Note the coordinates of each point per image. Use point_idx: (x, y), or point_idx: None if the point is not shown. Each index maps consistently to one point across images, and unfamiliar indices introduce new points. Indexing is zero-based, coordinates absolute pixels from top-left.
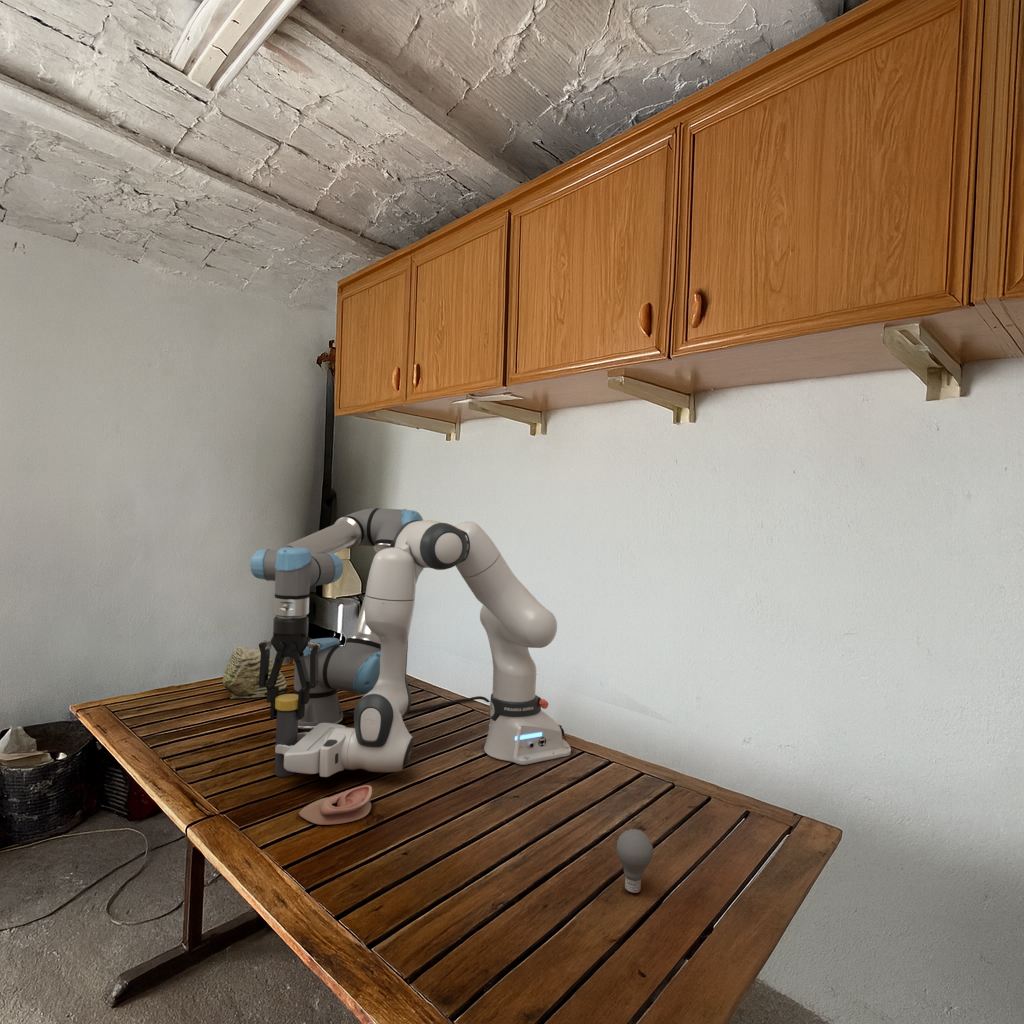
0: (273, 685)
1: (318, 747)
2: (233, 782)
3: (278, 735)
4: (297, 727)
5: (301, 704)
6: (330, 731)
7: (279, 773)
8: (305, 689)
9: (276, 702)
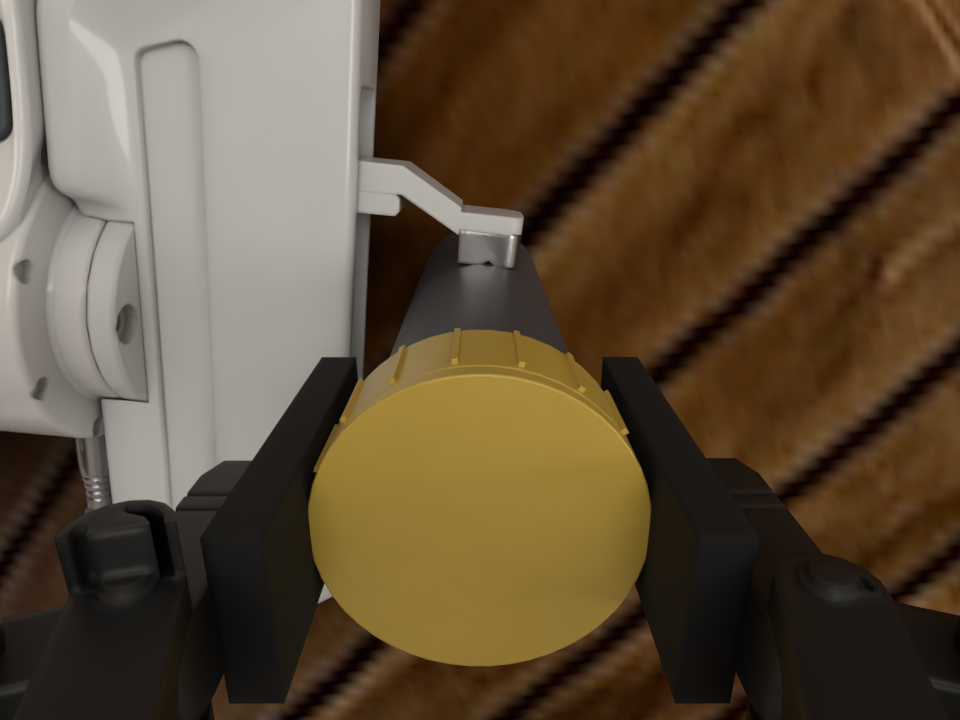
0: (764, 657)
1: (59, 24)
2: (723, 130)
3: (525, 290)
4: None
5: (275, 436)
6: (197, 472)
7: None
8: (90, 540)
9: (603, 407)
